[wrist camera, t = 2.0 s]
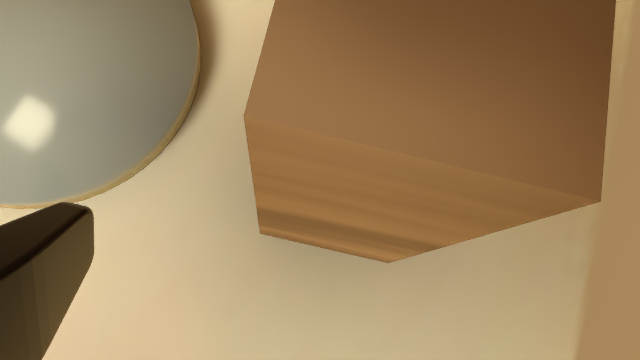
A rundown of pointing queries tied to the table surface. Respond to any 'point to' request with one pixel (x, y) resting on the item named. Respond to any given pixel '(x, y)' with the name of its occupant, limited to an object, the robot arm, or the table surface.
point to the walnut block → (426, 119)
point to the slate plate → (89, 93)
